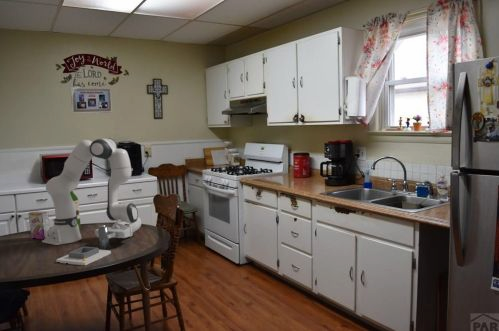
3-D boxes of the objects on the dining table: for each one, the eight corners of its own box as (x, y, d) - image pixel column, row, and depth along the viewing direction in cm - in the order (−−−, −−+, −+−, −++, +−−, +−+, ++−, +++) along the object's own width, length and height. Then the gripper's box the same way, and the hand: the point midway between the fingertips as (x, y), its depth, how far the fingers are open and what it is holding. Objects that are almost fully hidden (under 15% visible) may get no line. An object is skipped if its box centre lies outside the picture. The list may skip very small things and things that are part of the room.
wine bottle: (75, 231, 257) (70, 181, 253) (63, 230, 258) (58, 181, 255) (83, 227, 265) (79, 179, 262) (71, 227, 267) (67, 179, 264)
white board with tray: (56, 262, 196) (55, 254, 196) (83, 250, 213) (83, 243, 212) (85, 265, 190) (84, 257, 189) (110, 253, 206) (110, 245, 206)
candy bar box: (30, 239, 242) (27, 212, 241) (37, 236, 247) (34, 210, 245) (44, 240, 239) (41, 213, 237) (51, 237, 243) (48, 211, 242)
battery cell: (98, 249, 214) (95, 226, 212) (104, 246, 218) (102, 224, 217) (105, 250, 212) (103, 227, 211) (111, 247, 217) (109, 224, 215)
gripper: (104, 223, 230) (87, 229, 217) (133, 225, 222) (117, 231, 210) (105, 234, 231) (88, 241, 218) (134, 236, 223) (118, 243, 210)
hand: (102, 236), depth 214 cm, fingers closed on battery cell, 5 cm apart
